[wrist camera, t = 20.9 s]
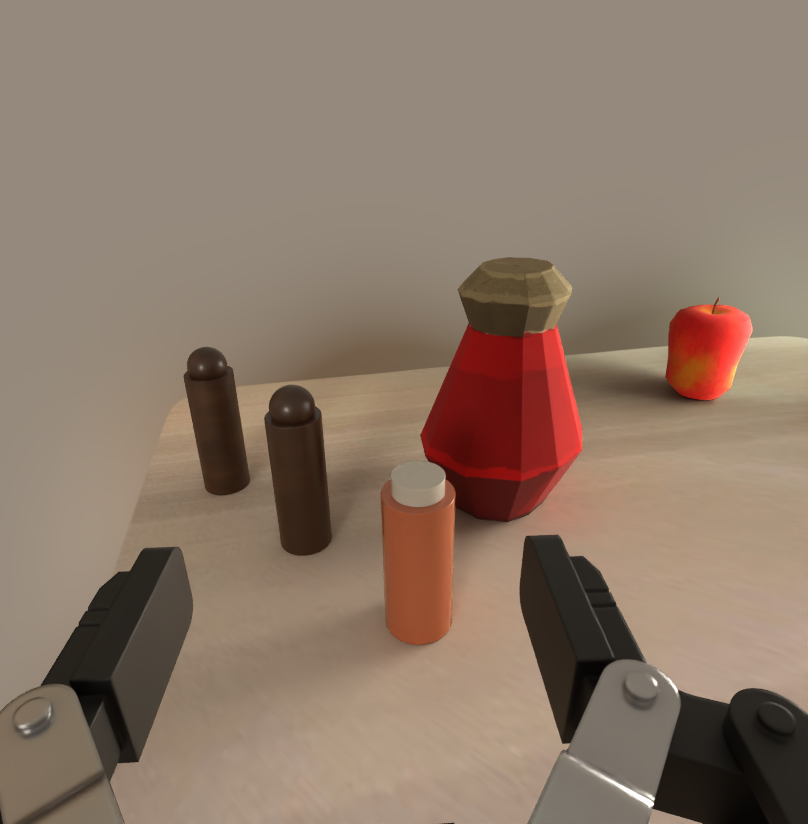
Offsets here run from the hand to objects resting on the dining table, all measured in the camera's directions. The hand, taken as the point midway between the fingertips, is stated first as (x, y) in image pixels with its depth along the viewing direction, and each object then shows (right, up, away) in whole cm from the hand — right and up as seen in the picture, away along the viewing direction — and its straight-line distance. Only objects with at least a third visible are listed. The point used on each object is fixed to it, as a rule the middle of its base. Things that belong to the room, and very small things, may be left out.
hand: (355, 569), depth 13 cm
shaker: (+2, -10, +24) cm, 26 cm away
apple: (+37, +6, +57) cm, 68 cm away
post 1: (-15, -3, +40) cm, 43 cm away
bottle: (+10, -4, +38) cm, 39 cm away
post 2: (-7, -6, +32) cm, 33 cm away
